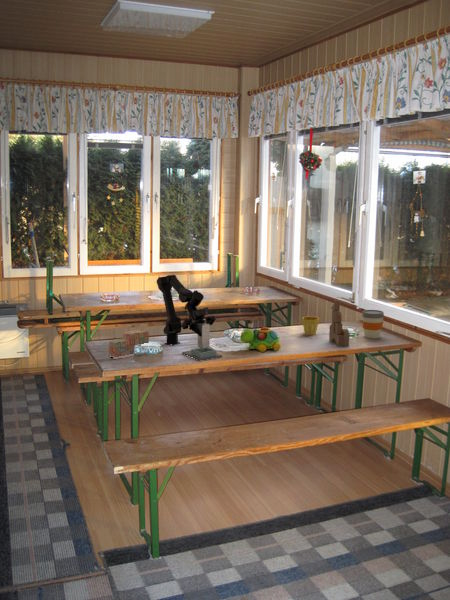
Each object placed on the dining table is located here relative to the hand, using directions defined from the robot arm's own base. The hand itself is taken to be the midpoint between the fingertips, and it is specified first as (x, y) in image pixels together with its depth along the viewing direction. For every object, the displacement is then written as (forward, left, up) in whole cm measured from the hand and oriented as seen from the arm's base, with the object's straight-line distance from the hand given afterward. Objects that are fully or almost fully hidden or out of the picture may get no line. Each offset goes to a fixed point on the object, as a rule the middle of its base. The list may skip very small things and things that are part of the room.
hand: (205, 335), depth 334 cm
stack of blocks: (+19, -36, -12) cm, 43 cm away
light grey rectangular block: (-1, -1, -7) cm, 7 cm away
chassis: (-1, -3, -12) cm, 12 cm away
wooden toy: (-66, +47, -12) cm, 81 cm away
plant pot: (-78, +23, -12) cm, 82 cm away
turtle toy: (-31, +15, -12) cm, 36 cm away
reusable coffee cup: (-92, +57, -12) cm, 108 cm away
